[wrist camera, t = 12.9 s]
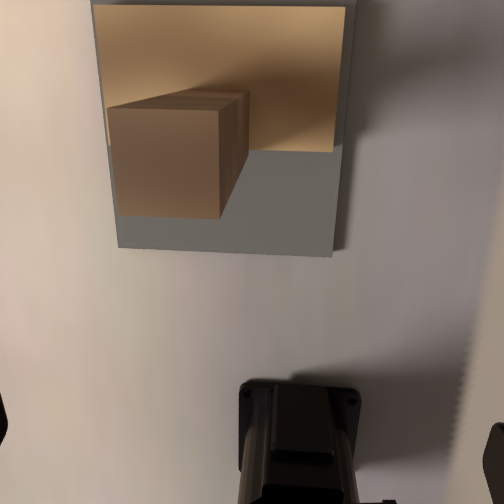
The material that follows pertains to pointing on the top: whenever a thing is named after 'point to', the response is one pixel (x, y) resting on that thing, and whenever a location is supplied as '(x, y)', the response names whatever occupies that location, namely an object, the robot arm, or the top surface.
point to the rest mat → (256, 179)
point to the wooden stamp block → (211, 96)
